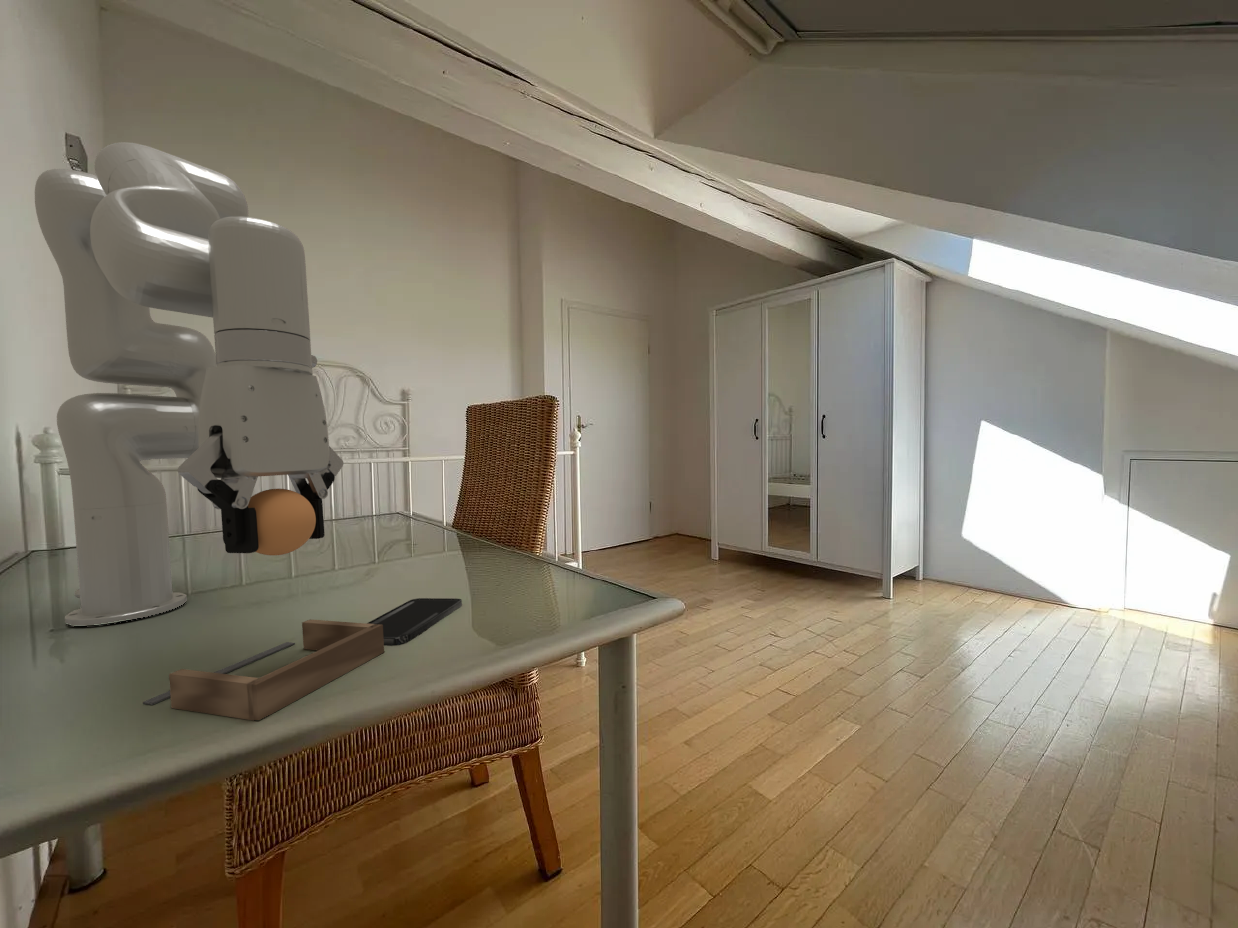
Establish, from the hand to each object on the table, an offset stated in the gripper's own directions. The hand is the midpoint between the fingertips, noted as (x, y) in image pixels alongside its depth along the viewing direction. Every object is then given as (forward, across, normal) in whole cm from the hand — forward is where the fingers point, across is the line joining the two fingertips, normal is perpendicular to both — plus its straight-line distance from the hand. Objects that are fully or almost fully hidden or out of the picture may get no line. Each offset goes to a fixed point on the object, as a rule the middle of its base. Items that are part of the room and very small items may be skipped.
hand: (278, 543), depth 49 cm
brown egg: (-2, 0, 0) cm, 2 cm away
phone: (+14, -16, +1) cm, 21 cm away
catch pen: (+13, 0, 0) cm, 13 cm away
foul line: (+13, 0, -8) cm, 15 cm away
